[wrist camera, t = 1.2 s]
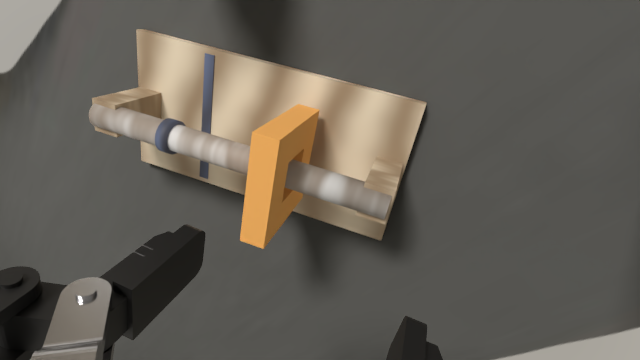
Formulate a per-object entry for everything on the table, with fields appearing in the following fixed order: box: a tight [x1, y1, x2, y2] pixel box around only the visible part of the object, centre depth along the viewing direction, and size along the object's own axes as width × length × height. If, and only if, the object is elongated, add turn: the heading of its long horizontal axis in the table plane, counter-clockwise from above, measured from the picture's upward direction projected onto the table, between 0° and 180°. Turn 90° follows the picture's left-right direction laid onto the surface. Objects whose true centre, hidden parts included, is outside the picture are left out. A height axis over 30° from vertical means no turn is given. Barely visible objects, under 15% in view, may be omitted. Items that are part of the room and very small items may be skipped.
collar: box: [240, 104, 320, 249], centre depth 30 cm, size 2×9×9 cm, turn 168°
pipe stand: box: [89, 29, 427, 241], centre depth 33 cm, size 28×14×8 cm, turn 78°
